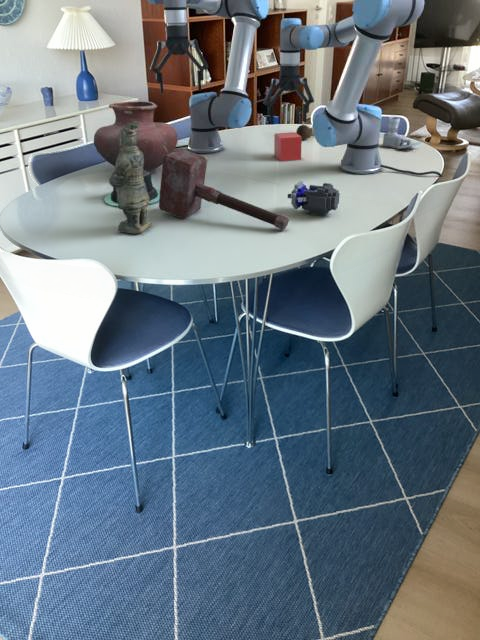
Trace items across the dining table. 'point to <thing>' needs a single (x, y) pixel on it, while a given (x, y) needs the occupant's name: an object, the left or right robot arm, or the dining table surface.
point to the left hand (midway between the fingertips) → (181, 91)
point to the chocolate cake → (152, 192)
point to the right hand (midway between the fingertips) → (288, 122)
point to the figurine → (304, 131)
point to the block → (287, 146)
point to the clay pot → (137, 134)
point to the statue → (131, 182)
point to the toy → (315, 198)
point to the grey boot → (396, 136)
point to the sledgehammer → (200, 190)
